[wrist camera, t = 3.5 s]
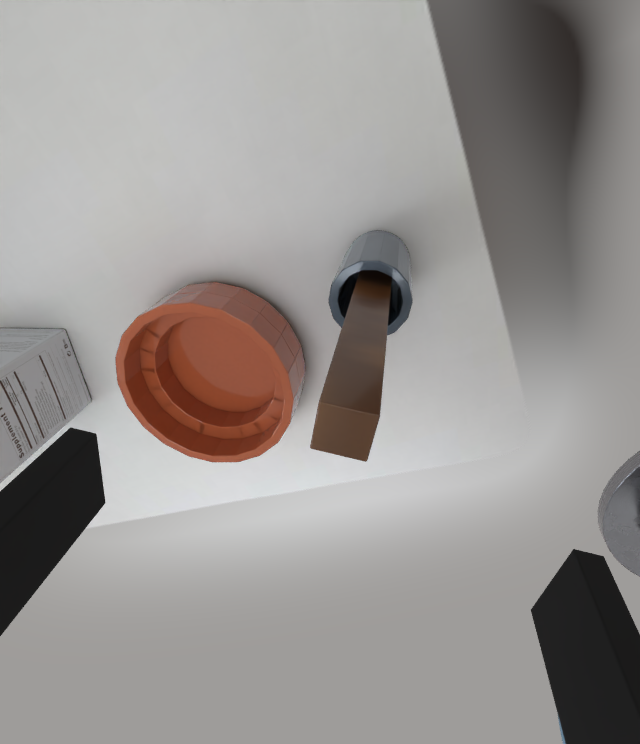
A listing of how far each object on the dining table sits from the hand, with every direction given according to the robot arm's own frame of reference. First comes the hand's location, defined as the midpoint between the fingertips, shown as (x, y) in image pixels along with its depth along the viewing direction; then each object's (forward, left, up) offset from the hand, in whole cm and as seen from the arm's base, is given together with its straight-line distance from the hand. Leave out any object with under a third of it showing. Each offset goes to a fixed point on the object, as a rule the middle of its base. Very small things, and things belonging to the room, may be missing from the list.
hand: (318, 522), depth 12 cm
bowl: (+12, +12, -27) cm, 32 cm away
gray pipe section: (0, 0, -27) cm, 27 cm away
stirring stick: (0, 0, -26) cm, 26 cm away
